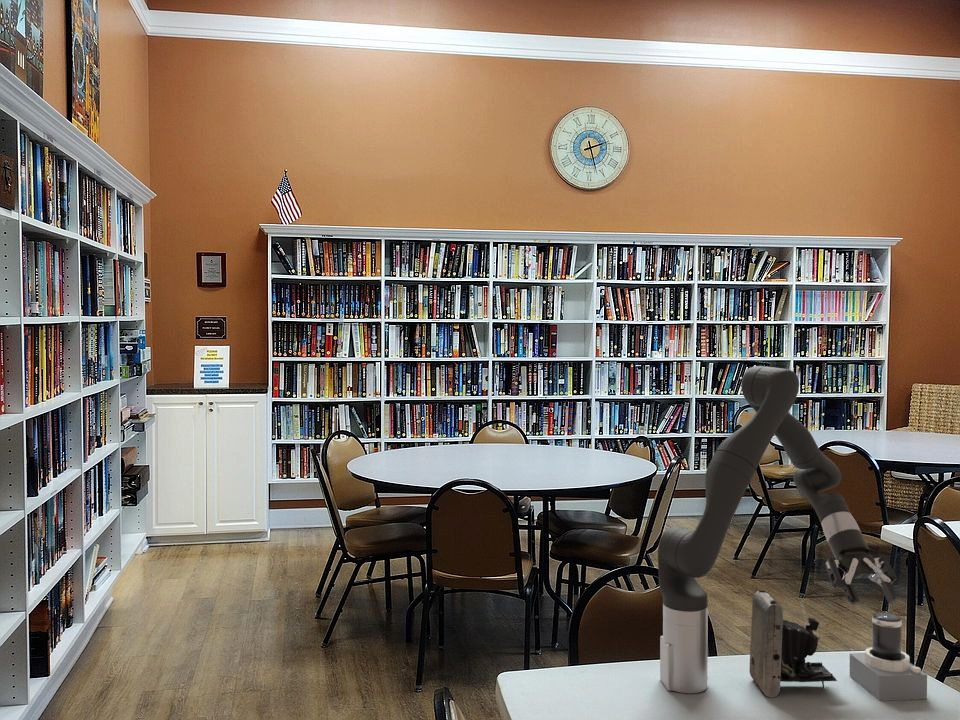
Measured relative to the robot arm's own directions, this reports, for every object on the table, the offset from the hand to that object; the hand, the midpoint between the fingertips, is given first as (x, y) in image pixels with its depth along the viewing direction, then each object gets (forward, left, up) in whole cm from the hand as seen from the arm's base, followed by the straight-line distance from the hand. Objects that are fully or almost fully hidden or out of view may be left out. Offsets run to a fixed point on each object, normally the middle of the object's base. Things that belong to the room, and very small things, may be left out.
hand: (874, 602), depth 177 cm
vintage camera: (-20, -4, -17) cm, 26 cm away
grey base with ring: (0, -5, -17) cm, 17 cm away
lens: (0, -4, -12) cm, 12 cm away
